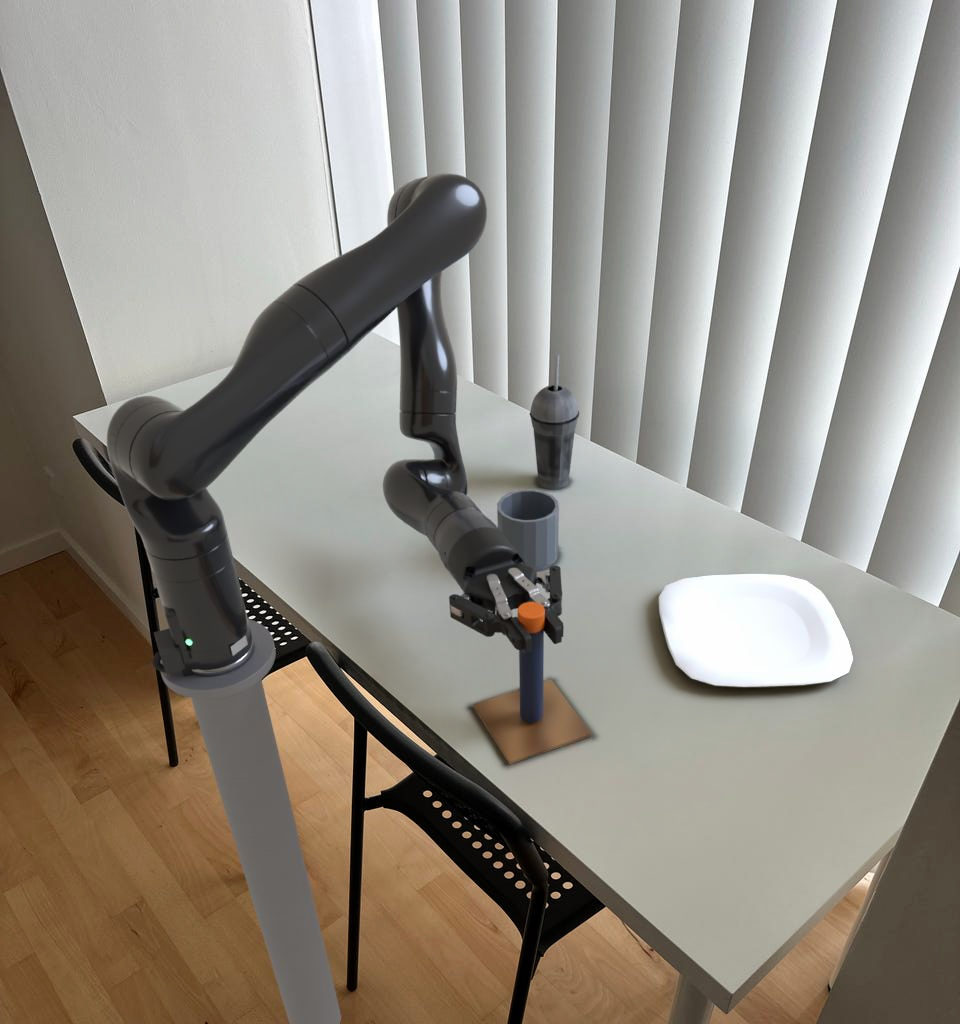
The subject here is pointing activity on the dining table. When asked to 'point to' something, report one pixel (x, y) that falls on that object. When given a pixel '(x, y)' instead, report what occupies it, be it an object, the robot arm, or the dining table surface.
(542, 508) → the pot
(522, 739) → the mat
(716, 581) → the plate
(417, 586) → the dining table surface
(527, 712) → the marker
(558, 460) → the beverage cup
